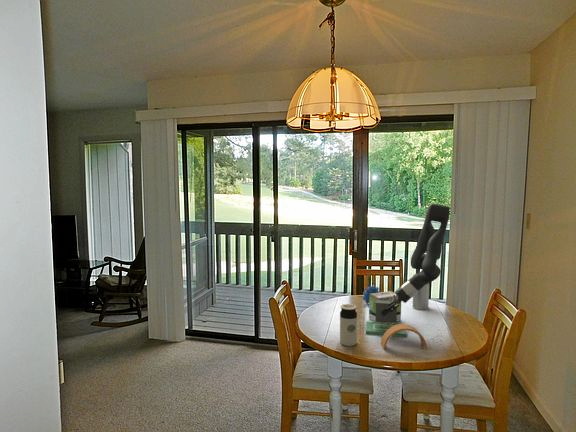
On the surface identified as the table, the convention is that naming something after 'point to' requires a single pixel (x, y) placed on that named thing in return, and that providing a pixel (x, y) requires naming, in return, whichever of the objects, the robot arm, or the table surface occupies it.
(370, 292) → the grapes
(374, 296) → the tea box
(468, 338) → the table surface
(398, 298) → the robot arm
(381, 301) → the block
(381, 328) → the board
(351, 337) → the travel mug
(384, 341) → the arch
